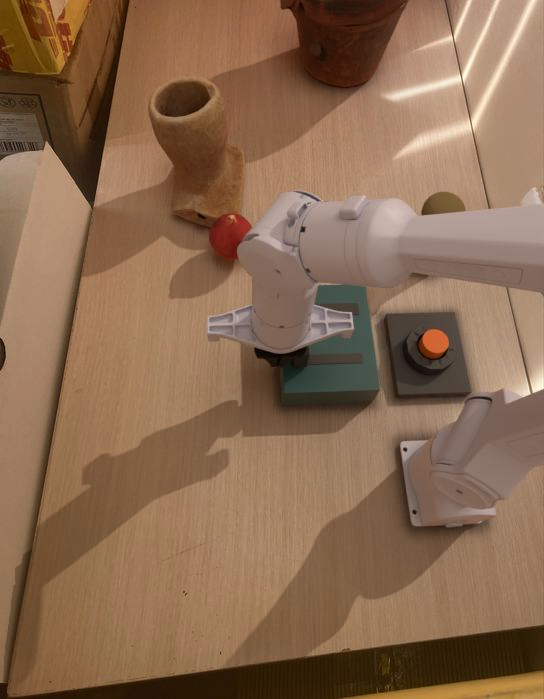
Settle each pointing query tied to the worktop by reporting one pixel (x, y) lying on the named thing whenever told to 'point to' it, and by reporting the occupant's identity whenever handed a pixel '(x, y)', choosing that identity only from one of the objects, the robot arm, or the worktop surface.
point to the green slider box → (336, 357)
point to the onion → (228, 234)
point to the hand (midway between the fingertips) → (276, 359)
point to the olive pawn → (442, 204)
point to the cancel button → (433, 344)
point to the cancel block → (419, 371)
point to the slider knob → (302, 359)
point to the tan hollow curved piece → (198, 149)
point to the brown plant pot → (344, 36)
